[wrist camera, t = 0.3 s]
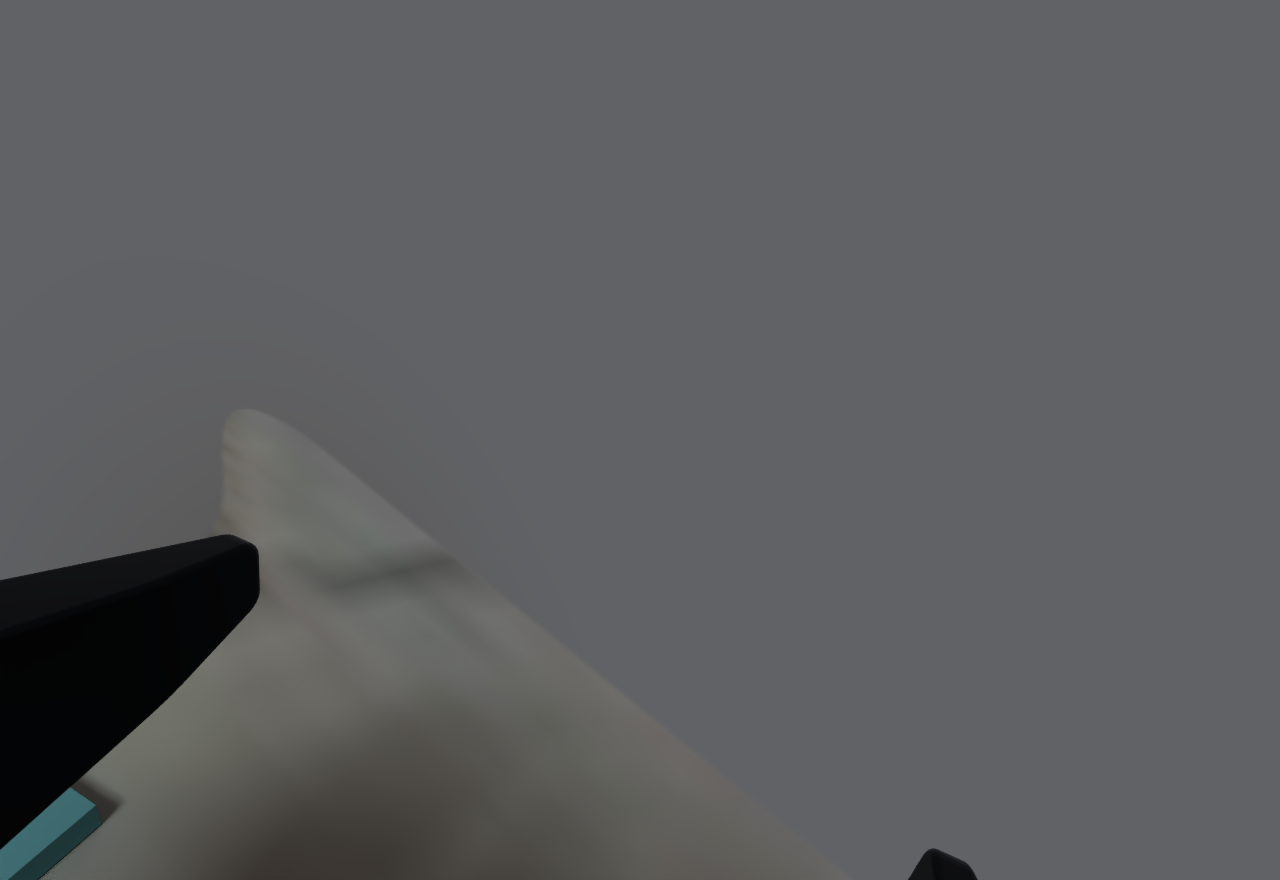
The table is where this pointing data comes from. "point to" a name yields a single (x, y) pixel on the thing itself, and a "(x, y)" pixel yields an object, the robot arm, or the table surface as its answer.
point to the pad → (49, 837)
